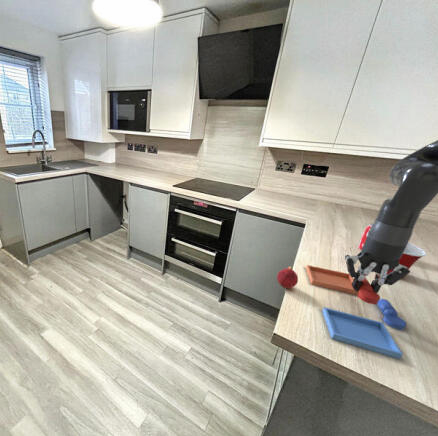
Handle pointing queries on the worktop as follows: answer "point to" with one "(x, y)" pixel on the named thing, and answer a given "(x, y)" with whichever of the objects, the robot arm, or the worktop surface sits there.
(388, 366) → the worktop surface
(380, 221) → the robot arm
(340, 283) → the terracotta tray
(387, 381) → the worktop surface
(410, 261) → the plastic cup
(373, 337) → the blue tray
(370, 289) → the red sausage
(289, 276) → the red textured round fruit
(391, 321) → the blue elongated piece
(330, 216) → the worktop surface
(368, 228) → the soda can
